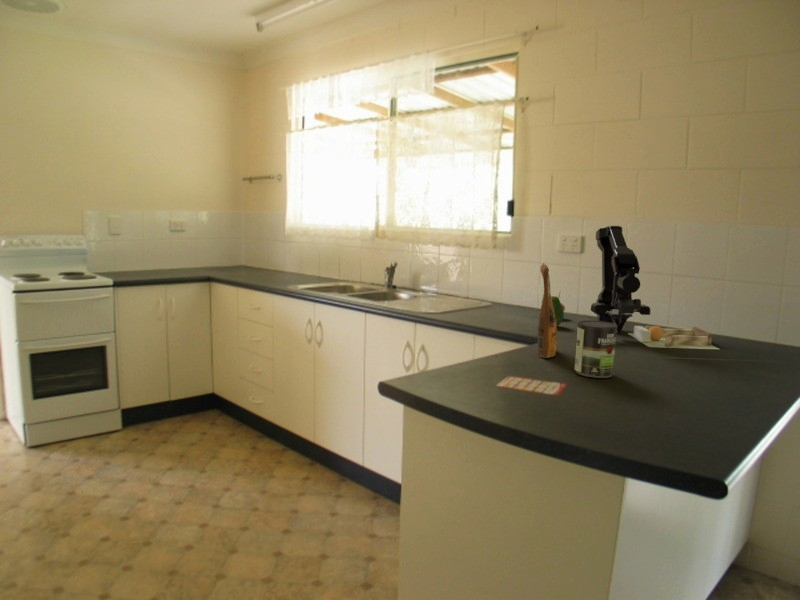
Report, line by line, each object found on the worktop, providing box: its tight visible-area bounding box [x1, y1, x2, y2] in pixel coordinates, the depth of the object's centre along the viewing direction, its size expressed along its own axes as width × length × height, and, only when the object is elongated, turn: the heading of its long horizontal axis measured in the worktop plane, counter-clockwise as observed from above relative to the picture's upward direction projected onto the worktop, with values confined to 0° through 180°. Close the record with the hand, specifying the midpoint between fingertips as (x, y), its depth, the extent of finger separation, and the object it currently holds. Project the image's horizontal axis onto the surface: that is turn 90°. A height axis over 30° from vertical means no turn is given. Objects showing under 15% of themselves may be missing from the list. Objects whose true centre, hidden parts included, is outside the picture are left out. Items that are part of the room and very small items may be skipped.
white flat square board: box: [627, 332, 720, 350], centre depth 201 cm, size 23×22×1 cm
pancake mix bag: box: [537, 262, 558, 357], centre depth 179 cm, size 7×19×28 cm, turn 163°
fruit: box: [551, 295, 565, 327], centre depth 223 cm, size 8×8×12 cm
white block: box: [633, 325, 651, 343], centre depth 201 cm, size 2×9×4 cm, turn 177°
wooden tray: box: [644, 325, 713, 347], centre depth 201 cm, size 16×20×4 cm
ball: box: [649, 325, 663, 340], centre depth 201 cm, size 5×5×5 cm
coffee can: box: [574, 319, 617, 376], centre depth 158 cm, size 10×10×14 cm
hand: (618, 333), depth 202 cm, fingers closed
